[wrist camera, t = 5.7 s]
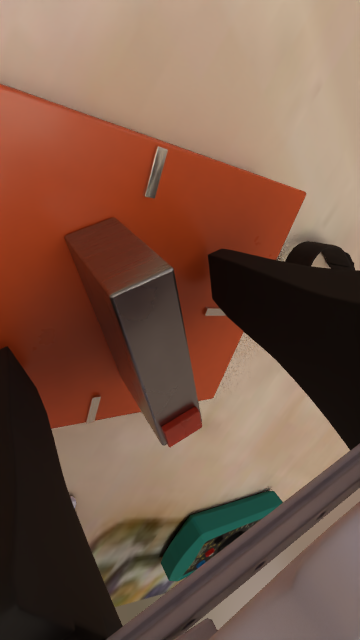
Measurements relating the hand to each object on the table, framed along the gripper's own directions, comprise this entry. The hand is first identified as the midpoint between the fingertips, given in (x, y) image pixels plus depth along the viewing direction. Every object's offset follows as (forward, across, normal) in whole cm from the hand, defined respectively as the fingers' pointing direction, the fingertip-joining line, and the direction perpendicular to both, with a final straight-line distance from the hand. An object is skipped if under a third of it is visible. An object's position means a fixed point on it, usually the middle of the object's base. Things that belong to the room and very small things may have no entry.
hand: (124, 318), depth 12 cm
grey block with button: (+1, 0, 0) cm, 1 cm away
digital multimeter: (+4, -4, +36) cm, 36 cm away
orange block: (+4, 0, 0) cm, 4 cm away
